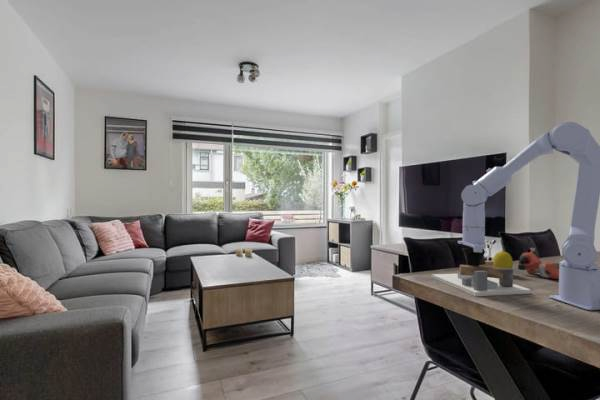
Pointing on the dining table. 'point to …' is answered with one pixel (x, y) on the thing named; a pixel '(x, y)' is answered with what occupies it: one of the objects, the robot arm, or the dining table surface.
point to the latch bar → (490, 273)
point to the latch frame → (479, 284)
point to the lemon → (503, 260)
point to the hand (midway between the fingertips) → (472, 273)
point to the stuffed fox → (538, 265)
